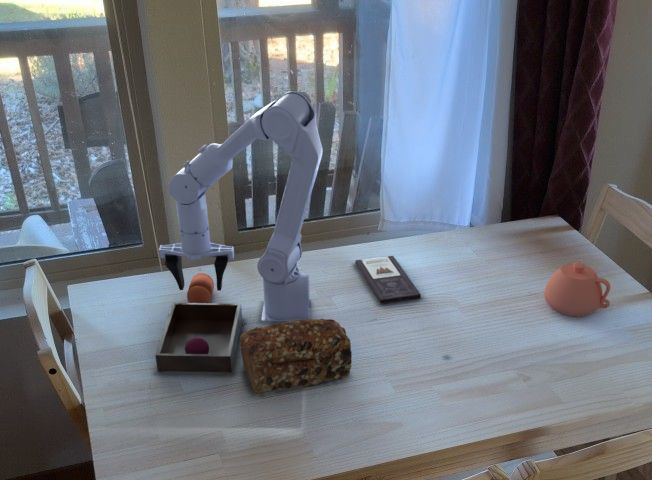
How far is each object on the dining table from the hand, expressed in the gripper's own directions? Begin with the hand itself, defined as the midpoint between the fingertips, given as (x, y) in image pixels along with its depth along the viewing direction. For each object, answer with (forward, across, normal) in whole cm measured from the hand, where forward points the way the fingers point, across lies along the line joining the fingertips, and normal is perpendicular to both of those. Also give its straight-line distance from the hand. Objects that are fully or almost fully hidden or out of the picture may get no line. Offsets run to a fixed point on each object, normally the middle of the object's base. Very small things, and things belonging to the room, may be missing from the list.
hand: (200, 288), depth 171 cm
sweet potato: (+3, 0, 0) cm, 3 cm away
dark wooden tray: (+3, +2, -17) cm, 17 cm away
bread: (+3, +21, -25) cm, 33 cm away
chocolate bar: (+3, +39, +10) cm, 40 cm away
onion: (+2, +2, -22) cm, 22 cm away
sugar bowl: (+4, +79, 0) cm, 79 cm away
